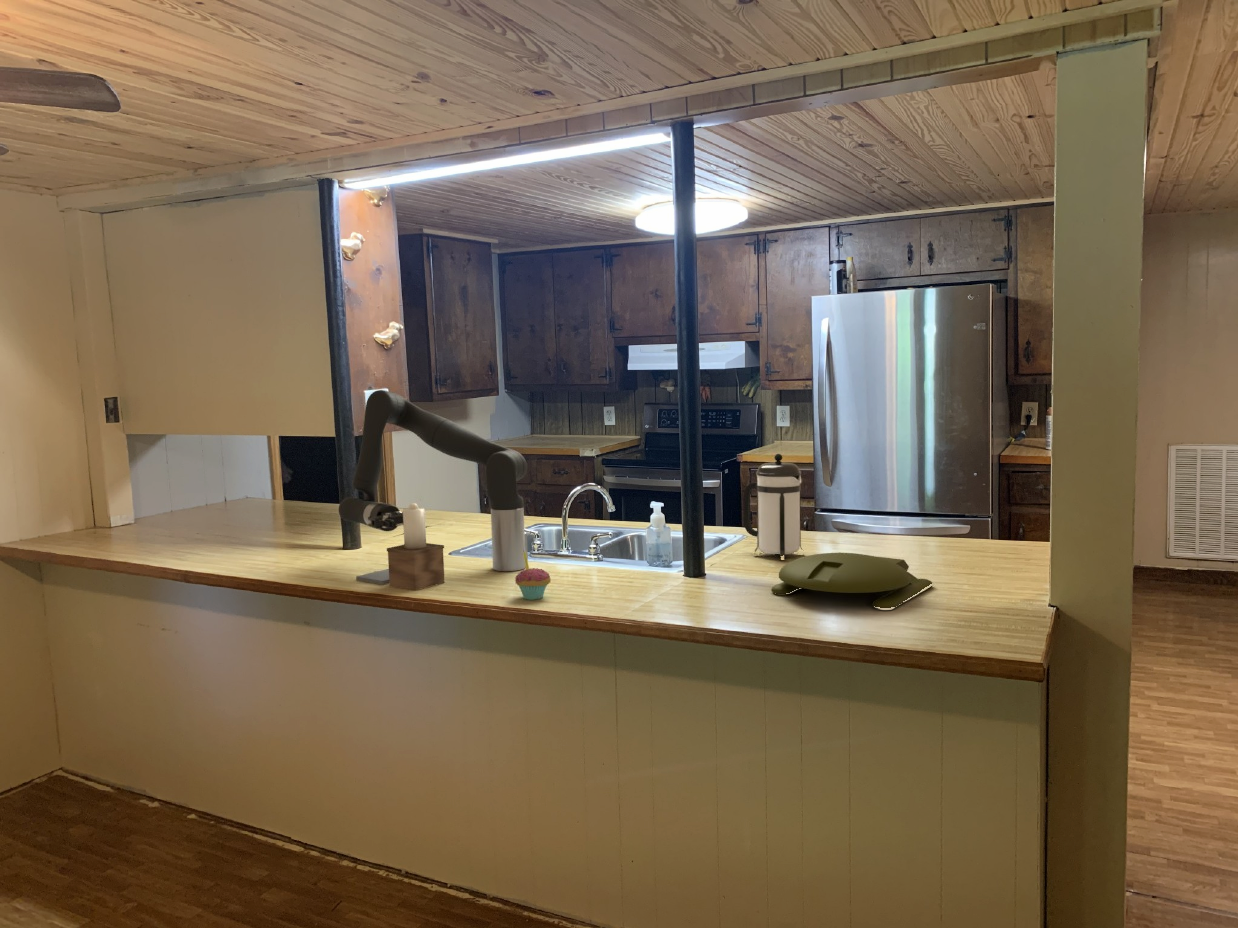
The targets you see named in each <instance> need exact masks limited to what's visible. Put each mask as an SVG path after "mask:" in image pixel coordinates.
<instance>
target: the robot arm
mask: <svg viewBox="0 0 1238 928" xmlns="http://www.w3.org/2000/svg"><path fill="white" fill-rule="evenodd" d="M363 420H364V421H363V428H362V429H363V430H362V438H361V445H360V453H359V457H358V461H357V463H356V468H355V472H354V476H353V480H352V483H351V484H352V488H353V489H355V490H357V491H359V492H362V493H363V495H364V496H363V497H364V498H363V499H362V498H357V497H351V496H350V497H346V498H343V499H342V500H341V502H340V503H339V506H338V515H339V516H340V518H341V519H342V520H343V521H345V522H350V523H351V522H352V523H357V524H361V525H365V526H368V527H370V528H373V529H376V530H380V531H383V532H392V531H394V530H395V529H397V528H398V527H400V526H401V527H402V526H403V510H400V509H399V508H398V507H397V506H396V505H394V504H391V503H385V502H382V501H381V502H379V501H378V502H377V491H378V484H379V481H380V477H381V472H382V468H383V449H382V448H383V447H382V446H383V445H382V443H383V434H384V431H385V428H386V426H387V424H390V425H393V426H397V427H400V428H402V429H405V430H407V431H409V432H412V433H414V435H415V436H417V437H418V438H419V439H421V441H423V443H425V444H426V445H428V446H430V447H431V448H432V449H434V450H436V451H439V452H440V453H443V454H445V455H447V456H449V457H453V458H456V459H459V460H464V461H469V462H473V463H476V464H480V465H481V466H484V467H485V481H486V483H485V484H486V493H487V499H488V501H489V504H490V526H491V527H490V528H491V530H490V531H491V554H492V555H491V556H492V569H493V570H494V571H497V572H515V571H519V570H520V571H521V570H525V569H526V565H525V560H524V554H523V553H524V552H526V556H527V561H528V556H529V555H528V534H527V532H525V511H524V509H525V508H524V497H523V496H521V495H520V494H519V492H518V484H517V482H518V481H520V480H522V479H523V478H524V477H525V476H526V474H527V473H528V463H527V461H526V459H525V457H524V455H522V454H521V452H519V451H517V450H514V449H511V448H509V447H507V446H504V445H500V444H497V443H495V442H493V441H490V440H487V439H486V438H484V437H483V436H481V435H479V434H477V433H476V432H473V431H471V430H469V429H467V428H465V427H464V426H462V425H460V424H459V423H456V422H454V421H452V420H450V419H448V418H445V417H443V416H441V415H438V414H435V413H432V412H429V411H427V410H424V409H422V408H420V407H419V406H417V405H415V404H413V403H412V402H411V401H409V400H408V399H406V398H404V396H402V395H400V394H398V393H396V392H391V391H387V390H384V389H380V390H378V389H377V390H375V391H373V392H371V394H370V395H369V396H368V397H367V400H366V403H365V410H364V419H363ZM523 549H524V551H523Z"/></svg>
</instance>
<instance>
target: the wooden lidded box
mask: <svg viewBox="0 0 1238 928" xmlns="http://www.w3.org/2000/svg"><path fill="white" fill-rule="evenodd" d="M444 549H445V545H443V544H437V543H429V542H426V547H424V548H418V549H407V548H405V547H404V544H400V545H396V546H392V547H387V548H386V552H387V561H388V563H387V564H388V569H389V583H388V585H389V587H394V588H400V589H406V590H411V591H419V590H423V589H427V588H430V587H434V586H437V585H441V584H444V583H445V563H444V562H445V561H444ZM436 584H437V585H436Z"/></svg>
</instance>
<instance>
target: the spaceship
mask: <svg viewBox="0 0 1238 928" xmlns="http://www.w3.org/2000/svg"><path fill="white" fill-rule="evenodd" d="M909 568H910V566H909V564H908V563H907V562H906V560H905V559H902V558H901V559H900V558H891V557H885V556H883V557H882V556H876V555H869V554H862V553H853V552H827V553H826V552H825V553H815V554H810V555H807V556H805V555H804V556H801V557H799V558H796V559H794V560H791V561H790V562H787V563H786V564H785V565H783V566H782V567H781V569H780V570H779V572H778V579H780V581H782V582H780V583H778V584H775V585H773V586H772V587H771V588H770V590H771V593H772V594H774V593H776V594H786V593H790V592H792V591H794V590H796V589H799V588H803V589H807V590H812V591H817V592H818V591H820V592H828V593H845V594H847V593H848V594H849V593H850V594H852V593H853V594H859V593H860V594H862V593H863V594H865V593H869V594H870V593H878V592H879V593H880V592H881V593H882V592H887V591H891V592H889V593H887V594H885V595H883V596H881V597H879V598H877V599H876V600H874V601H873V602H872V607H873V606H875V607H880V608H891V607H896V606H898V605H899V604H901V603H903V601H905V600H907V599H908V598H910V597H912V596H913V595H915V594H917V593H918V592H920V591H921V590H922V589H924V588H925V587H927V586H929V585H930V584H932V583H933V582H932V581H931V580H929V579H927V578H918V577H916V576H914V575H913V574H912V573H910V572H909V571H908V570H909ZM776 594H775V595H776ZM898 607H899V606H898Z"/></svg>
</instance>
